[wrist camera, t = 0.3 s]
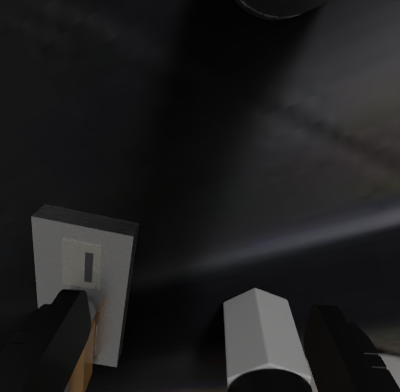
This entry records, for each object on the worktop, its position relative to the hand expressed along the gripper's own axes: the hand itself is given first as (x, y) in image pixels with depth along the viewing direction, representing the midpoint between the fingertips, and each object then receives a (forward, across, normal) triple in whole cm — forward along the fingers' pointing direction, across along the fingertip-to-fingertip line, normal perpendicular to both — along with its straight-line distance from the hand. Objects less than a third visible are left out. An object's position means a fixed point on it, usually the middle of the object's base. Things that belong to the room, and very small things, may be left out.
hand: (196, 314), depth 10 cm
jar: (+19, -7, +20) cm, 28 cm away
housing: (+19, +14, +17) cm, 29 cm away
